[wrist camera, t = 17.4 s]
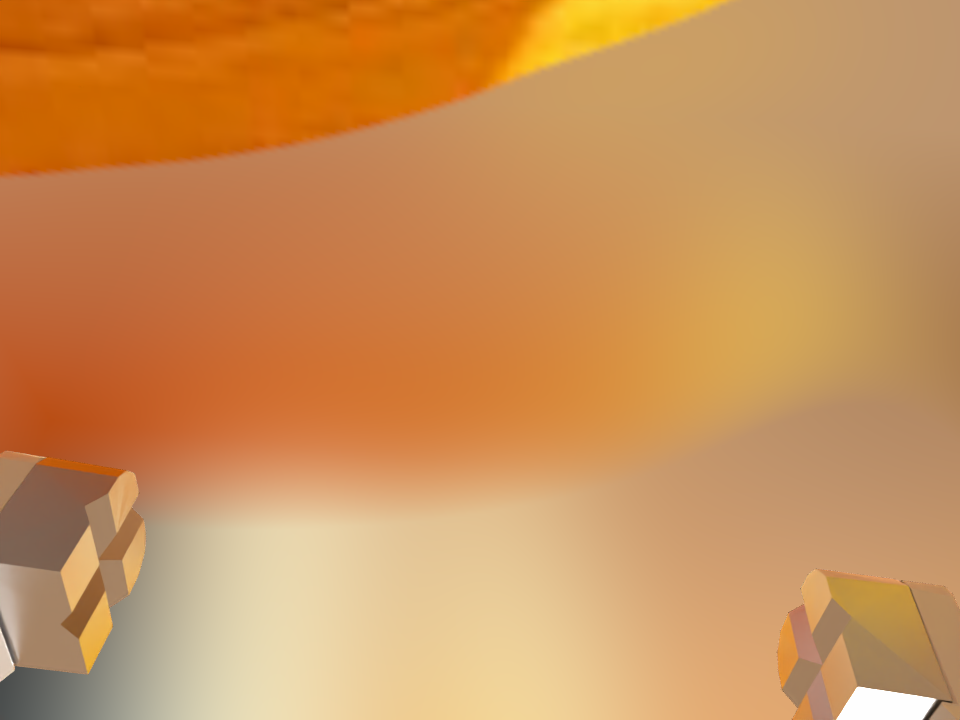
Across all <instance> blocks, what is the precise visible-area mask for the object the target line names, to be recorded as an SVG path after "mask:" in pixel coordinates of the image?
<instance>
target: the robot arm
mask: <svg viewBox="0 0 960 720" xmlns="http://www.w3.org/2000/svg"><path fill="white" fill-rule="evenodd" d="M138 495H139V490H138V486H137V481H136V477H135V474H134V473H132V472H129V471H127V470H121V469H115V468H109V467H103V466H97V465H91V464H85V463H80V462H74V461H67V460H62V459H56V458H50V457H47V458H46V457H40V456H34V455H28V454H22V453H16V452H10V451H5V452H3V453H1V454H0V681H2V680H3V679H4V678H5V677H7V676H8V675H9V674H11V673H12V672H13V671H14V670H15V668H14V666H21V667H29V668H38V669H46V670H55V671H64V672H72V673H80V674H88V673H89V672H90V670H91V668H92V666H93V664H94V662H95V660H96V658H97V656H98V654H99V652H100V650H101V648H102V646H103V644H104V642H105V641H106V639H107V637H108V635H109V633H110V631H111V629H112V627H113V624H112V619H111V615H110V610H109V608H110V607H112V606H113V605H115V604H116V603H118V602H119V601H121V600H122V599H124V598H125V597H127V596H128V595H129V594H130V592H131V590H132V588H133V585H134V584H135V582H136V579H137V578H138V575H139V572H140V568H141V564H142V561H143V557H144V554H145V542H146V531H145V525H144V519H143V518H142V517H141V516H140V515H139V514H138V513H137V512H136V511H135V510H134V509H133V508H132V506H133V504H134V502H135V500H136V498H137V496H138ZM801 592H802V597H803V601H804V604H803V605H801V606H799V607H798V608H796V609H794V610H792V611H790V612H788V615H787V617H786V619H785V621H784V624H783V626H782V628H781V630H780V637H779V643H778V650H777V657H778V659H777V660H778V673H779V678H780V683H781V688H782V690H783V692H784V693H785V694H786V695H787V696H788V697H789V699H790V700H791V701H792V702H793V703H794V704H795V706H796V707H797V708H798V709H797V711H796V713H795V715H794V716H793V718H792V720H960V609H959V607H958V605H957V603H956V600H955V598H954V596H953V594H952V593H951V592H950V591H949V590H948V589H947V588H946V587H945V586H940V585H933V584H926V583H918V582H911V581H903V580H901V581H898V580H896V579H890V578H884V577H876V576H868V575H861V574H852V573H846V572H838V571H831V570H823V569H815V570H813V571H812V572H811V573H810V574H808V575H807V577H806V579H805V581H804V583H803V585H802V587H801Z"/></svg>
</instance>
